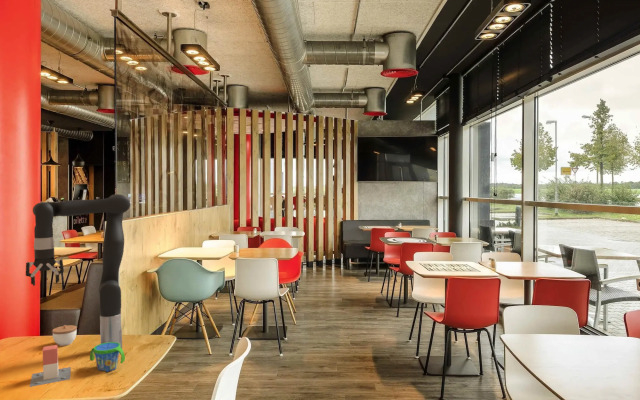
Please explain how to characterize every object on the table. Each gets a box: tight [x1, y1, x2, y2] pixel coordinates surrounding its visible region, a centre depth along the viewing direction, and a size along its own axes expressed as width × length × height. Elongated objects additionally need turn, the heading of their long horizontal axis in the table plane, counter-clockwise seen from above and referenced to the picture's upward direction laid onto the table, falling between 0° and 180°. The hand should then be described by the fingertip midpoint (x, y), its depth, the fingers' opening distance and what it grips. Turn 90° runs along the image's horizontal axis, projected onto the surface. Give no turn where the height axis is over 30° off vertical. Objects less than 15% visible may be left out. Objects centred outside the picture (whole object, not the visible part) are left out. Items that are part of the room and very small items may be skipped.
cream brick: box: [42, 361, 59, 380], centre depth 185 cm, size 5×5×6 cm
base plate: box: [29, 366, 72, 388], centre depth 185 cm, size 14×14×1 cm
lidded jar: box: [52, 324, 78, 347], centre depth 226 cm, size 11×11×9 cm
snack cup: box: [89, 342, 126, 373], centre depth 194 cm, size 16×10×10 cm
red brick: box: [42, 344, 59, 366], centre depth 184 cm, size 5×5×6 cm
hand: (45, 284), depth 198 cm, fingers open, 8 cm apart
